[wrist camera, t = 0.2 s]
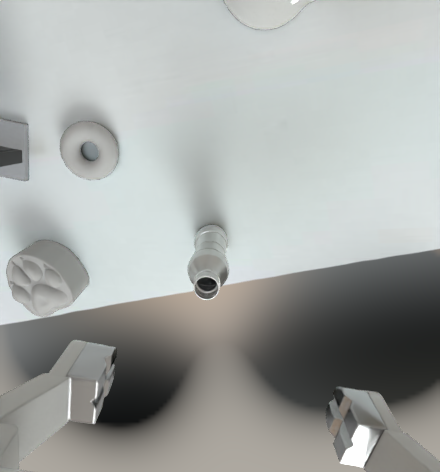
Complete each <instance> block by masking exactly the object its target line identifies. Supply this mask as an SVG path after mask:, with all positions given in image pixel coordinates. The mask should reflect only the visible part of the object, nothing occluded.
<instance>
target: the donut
mask: <svg viewBox="0 0 440 472" xmlns="http://www.w3.org/2000/svg"><path fill="white" fill-rule="evenodd" d="M84 142H92V143H93V144H95V145H96V147H97V149H98V157H97V159H96V160H94V161H88V160H86V159H85V158H84V157H83V155H82V153H81V146H82V144H83V143H84ZM60 152H61V157H62V159H63V161H64V163H65V165H66V166H67V167H68V168H69V169H70V171H71V172H72V173H74V174H75V175H77V176H79V177H80V178H83V179H87V180H100V179H102V178H105V177H107V176H108V175H109V174H110V173H111V172H112V171H113V170H114V169H115V167H116V165H117V163H118V156H119V152H118V146H117V143H116V141H115V139H114V137H113V136H112V135H111V133H110V132H109V131H108V130H107V129H106V128H104V127H102V126H101V125H99V124H97V123H94V122H90V121H81V122H77V123H75V124H73V125H70V126H69V127H68V128H67V129H66V130H65V131H64V133H63V135H62V137H61V140H60Z"/></svg>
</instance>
